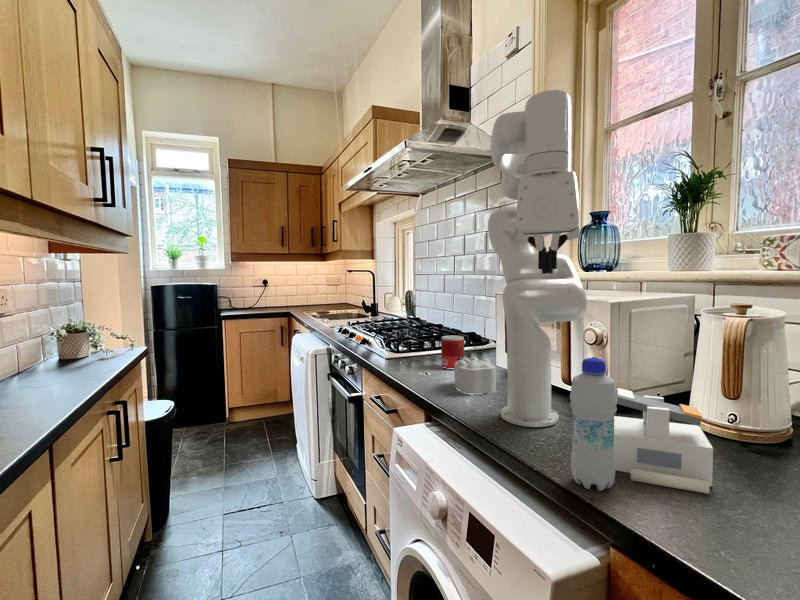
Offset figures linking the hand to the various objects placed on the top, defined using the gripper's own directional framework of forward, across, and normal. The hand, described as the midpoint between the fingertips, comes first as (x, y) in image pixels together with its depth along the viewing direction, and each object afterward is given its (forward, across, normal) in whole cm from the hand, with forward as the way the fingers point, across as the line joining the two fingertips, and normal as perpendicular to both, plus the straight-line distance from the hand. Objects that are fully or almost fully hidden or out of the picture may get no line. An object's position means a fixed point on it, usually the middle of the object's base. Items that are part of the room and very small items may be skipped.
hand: (547, 273), depth 73 cm
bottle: (+33, +8, -8) cm, 35 cm away
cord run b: (+33, +18, -4) cm, 38 cm away
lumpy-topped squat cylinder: (+33, -24, +37) cm, 55 cm away
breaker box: (+33, +17, +3) cm, 37 cm away
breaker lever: (+23, +17, +3) cm, 29 cm away
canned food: (+33, -38, +59) cm, 78 cm away
